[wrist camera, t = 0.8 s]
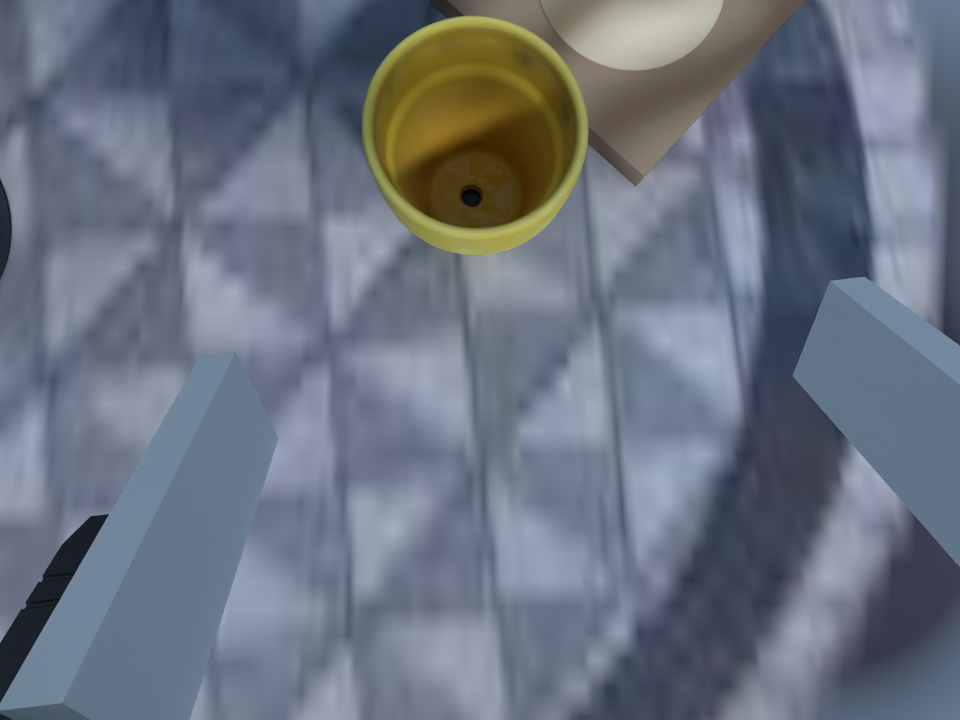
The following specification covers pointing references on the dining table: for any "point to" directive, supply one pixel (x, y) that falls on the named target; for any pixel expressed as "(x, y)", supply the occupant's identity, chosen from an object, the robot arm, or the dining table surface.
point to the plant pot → (474, 133)
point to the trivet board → (642, 61)
